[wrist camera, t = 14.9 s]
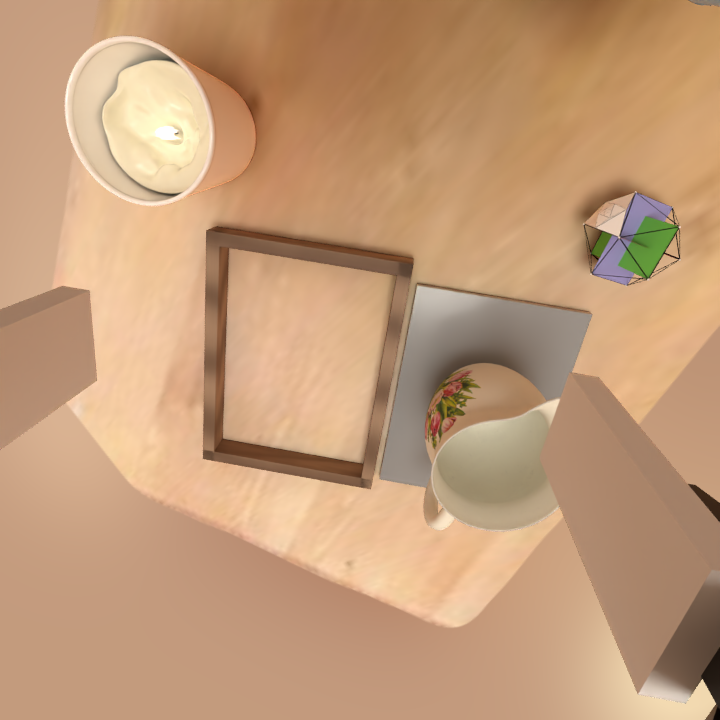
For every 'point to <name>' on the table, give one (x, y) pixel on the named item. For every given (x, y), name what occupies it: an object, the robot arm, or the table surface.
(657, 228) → the geometric puzzle
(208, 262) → the frame
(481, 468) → the pitcher
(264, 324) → the table surface
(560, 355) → the slate board
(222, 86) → the candle holder
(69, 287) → the robot arm
